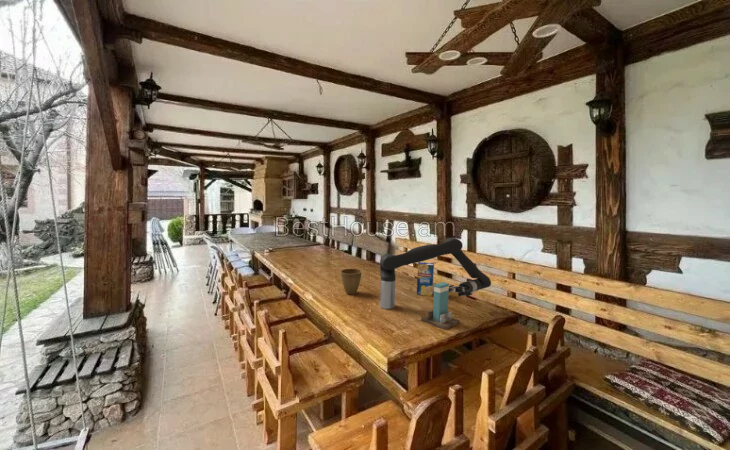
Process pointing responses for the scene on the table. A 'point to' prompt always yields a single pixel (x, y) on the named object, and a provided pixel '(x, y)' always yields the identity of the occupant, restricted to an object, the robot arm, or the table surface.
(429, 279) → the blue food box
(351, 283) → the plant pot
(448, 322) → the book rack
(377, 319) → the table surface
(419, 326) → the table surface
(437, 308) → the book
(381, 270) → the robot arm
